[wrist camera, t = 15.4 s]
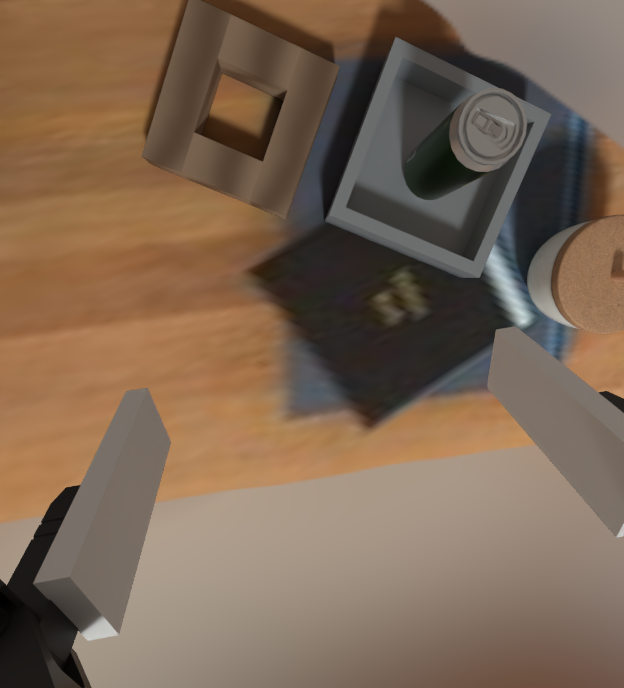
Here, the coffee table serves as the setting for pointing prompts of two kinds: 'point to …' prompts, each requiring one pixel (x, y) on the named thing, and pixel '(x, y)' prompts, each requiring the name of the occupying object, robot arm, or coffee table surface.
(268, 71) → the socket block
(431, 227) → the bin
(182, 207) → the coffee table surface
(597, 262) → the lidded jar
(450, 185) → the beer can
